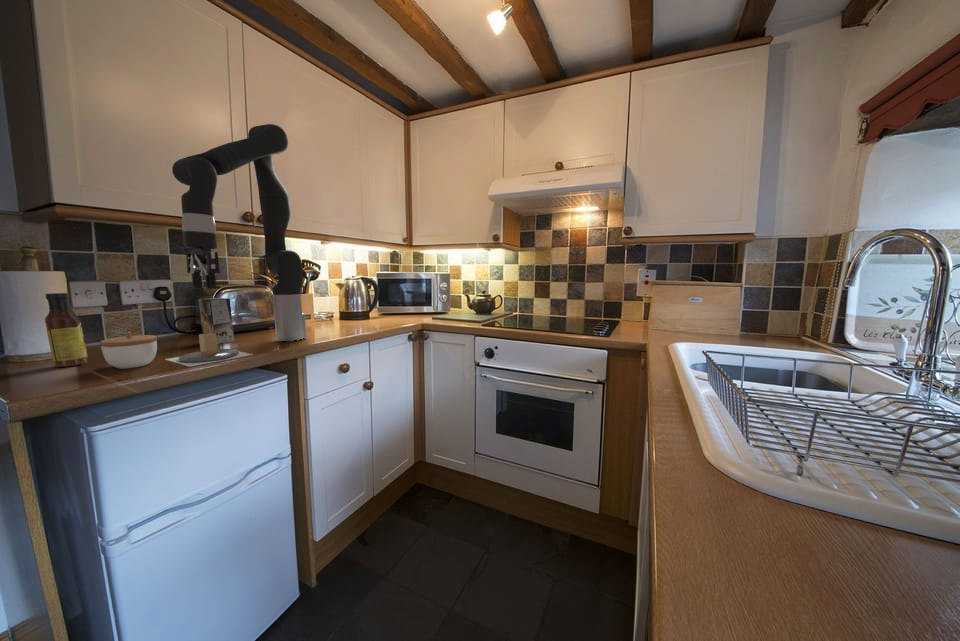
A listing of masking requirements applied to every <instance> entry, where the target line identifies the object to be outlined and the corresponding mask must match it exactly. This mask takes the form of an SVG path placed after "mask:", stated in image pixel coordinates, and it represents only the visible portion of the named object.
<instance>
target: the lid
mask: <svg viewBox="0 0 960 641" xmlns="http://www.w3.org/2000/svg"><path fill="white" fill-rule="evenodd" d="M198 339H199V340H198V341H199V348H200V349H199V350H200V351H194V352H190V353H189V352H188V353H186V354H182V355H181V356H178V357H179V361H180V362H184V363H199V362H210V361H217V360H223V359H227V358H231V357H234V356H237V355H238V354H239V353H238V351H239V350H238V349H235V348H234V349H233V348H231V349H230V348H219V344H218V343H217V334H214V333H208V334H203V333H200V334H198ZM223 361H224V360H223Z"/></svg>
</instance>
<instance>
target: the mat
mask: <svg viewBox="0 0 960 641" xmlns="http://www.w3.org/2000/svg"><path fill="white" fill-rule="evenodd" d="M238 353H239V354H238V355H237V356H234V357H231V358H227V359H223V360H217V361H210V362H199V363H184V362H180V361H179V357H180V356H176V357H169V358H165V359H164V360H165V361H169V362H172V363H175V364H179V365H182V366H184V367H195V366H202V365H205V364H206V365H207V364H211V363H212V364H213V363H216V362H217V363H218V362H222V361H228V360H232V359H237V358H243V357H247V356H248V357H249V356H253V355H254V354H253V353H248V352H244V351H239V350H238Z"/></svg>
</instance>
